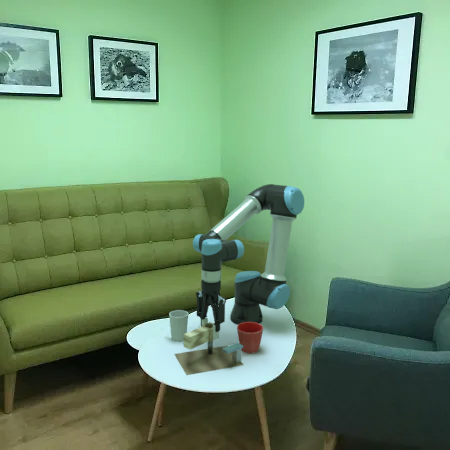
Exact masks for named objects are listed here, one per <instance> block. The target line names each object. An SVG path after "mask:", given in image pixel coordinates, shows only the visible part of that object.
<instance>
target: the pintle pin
mask: <svg viewBox="0 0 450 450" xmlns="http://www.w3.org/2000/svg"><path fill="white" fill-rule="evenodd" d="M213 344H214V340H213V341H211V342H209V341H208V342H207V349H208V354H213V348H214V347H213Z"/></svg>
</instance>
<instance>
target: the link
mask: <svg viewBox="0 0 450 450" xmlns="http://www.w3.org/2000/svg"><path fill="white" fill-rule="evenodd" d="M213 323H214V322H211V321H210V322H209V321H208V323H207V324H204V325H202V326H201V325H200V327H198V328H195V329H193V330H191V331H189V332H188V331H187V333H186V334H184V341H183V347H184V348H185V349H187V350H189V351H192V350H193V349H195V348H197V347H199V346H201V345H203V344H206V343H208V341H209V342H211V341H213V342H214V340H213Z"/></svg>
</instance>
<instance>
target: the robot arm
mask: <svg viewBox="0 0 450 450" xmlns="http://www.w3.org/2000/svg"><path fill="white" fill-rule="evenodd" d="M304 208H305V197H304V194H303V191H302V190H301V189H300V188H298V187H296V186H291V185H282V184H281V185H280V184H273V183H269V184H263V185H262V186H260V187H259V186H258V187H257V188H256V189H253V190H252V191H251V192H249V193H248V194H247V195H246V196H245V197H244V199H243V201H242V202H240V204H239V205H238V206H236V207H235V208H234V209H233V210H232V211H231V212H229V214H227V215H226V216H225V217H224V218H222V219H221V221H219V222H218V223H217V224H216V225H214V227H212V228H211V229H210V230H208V232H207V233H205V234H204V233H201V234H199V233H198V234H197V235H195V237H194V238H193V240H192V247H193V249H194V250H195V252H199V253H200V254H201V270H200V271H201V276H200V278H201V282H200V288H201V290H199V291H197V292H195V296H196V317H199V318H200V327H201V326H202V325H204V324H207V323H209V319H208V311H209V307H211V310H212V314H213V319H214V320H213V321H214V322H212V323H213V341H215V340H217V339H219V338H220V330H221V324H224V323H225V322H226V316H225V315H226V302H227V298H226V297H222V296H221V293H220V292H221V289H222V285H221V284H222V281H221V279H222V263H226V262H229V261H234V260H237V259H241V258H242V257H243V256H244V254H245V247H244V244H243V242H242V241H241V240H239V239H232V240H228V239H229V238H230V237H231V236H232V235H233V234H235V233H236V232H237V231H238V230H239V229H240V228H241V227H242V226H244V224H246V223H247V222H248V221H249V220H250V219H251V218H252V217H254V215H257V214H258V215H259V214H260V213H261V212H263V211H266V210H268V211H270V213H269V215H270V217H271V218H272V222H271V229H270V234H269V242H268V248H267V255H266V260H265V267H264V272H263V273H261V272H260V271H257V270H246V271H245V270H244V271H241V272H238V273H237V274H236V275H235V279H234V280H235V281H234V305H233V307H232V310H231V312H230V321H231V322H232V323H233V324H235V325H237V326H238V325H239V324H240V323H243V322H255V323H259V324H261V323H263V318H264V316H263V312H262V308H261V305H262V306H264V307H267V308H270V309H273V310H279V309H281V308H283V307H284V306H285V305H286V303H288V301H289V299H290V296H291V289H290V286H289V285H288V284H287V277H286V276H285V269H286V264H287V257H288V251H289V244H290V237H291V232H292V226H293V222H294V221H295V220H296V219H297V216H298V215H300V214H301V213H302V211H303V210H304Z"/></svg>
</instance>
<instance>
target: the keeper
mask: <svg viewBox="0 0 450 450" xmlns="http://www.w3.org/2000/svg"><path fill="white" fill-rule="evenodd" d="M226 346H227V347H225V348H222V351H223V352H225V353H227V354H229V353H231V352H232V361H233V362H234V363H236V364H237V363H239V362H242V351H241V348H243V345H241V344H239V342H235V343H232V344H230V345H226Z"/></svg>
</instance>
